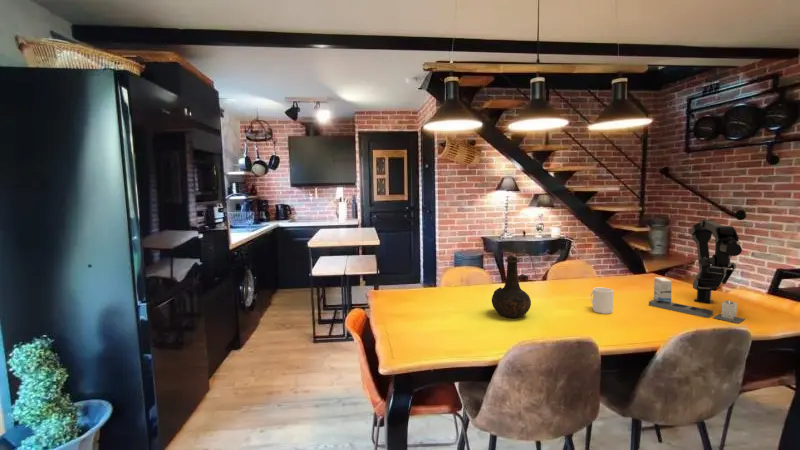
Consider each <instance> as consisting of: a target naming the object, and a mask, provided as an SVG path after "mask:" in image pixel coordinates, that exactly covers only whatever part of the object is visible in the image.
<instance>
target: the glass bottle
mask: <svg viewBox="0 0 800 450" xmlns="http://www.w3.org/2000/svg"><path fill="white" fill-rule="evenodd" d="M506 258H507V259H505V262H506V264H507V265H506V277H505V283H504V286H503V287H499V288H496V289H495V290H494V291H493V294H492V296H491V304H492V307H493V309H494V310H495V311H496V312H497V313H498V314H499V315H501V316H502V317H504V318H509V319H510V318H512V319H513V318H514V319H515V318H520V317H524V315H526V314H527V313H528V312H529V311H530V308H531V305H532V301H531V298H530V295H529V294H528V293H527V292H526V291H525V290H523V289H522V288H521V286H520V282H519V274H518V263H519V262H520V260H518V257H517V256H515V255H508V256H507V257H506Z"/></svg>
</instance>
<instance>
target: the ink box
mask: <svg viewBox="0 0 800 450" xmlns="http://www.w3.org/2000/svg"><path fill="white" fill-rule="evenodd" d="M653 282H654V283H653V284H654V285H653V288H654V289H653V300H654V299H657V300H662V301H667V302H672V285H673V284H672V283H673V281H672V280H670V279H668V278H666V277H657V276H656V277H654V279H653Z"/></svg>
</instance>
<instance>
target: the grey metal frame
mask: <svg viewBox="0 0 800 450" xmlns="http://www.w3.org/2000/svg"><path fill="white" fill-rule="evenodd" d="M648 306H650V307H653V308H659V309H662V310H663V309H664V310H668V311H673V312H679V313H682V314H687V315H692V316H696V317H701V318H706V319H708V318H710V317H712V316H714V310H711V309H707V308H701V307H697V306H691V305H686V304H681V303H677V302H672V301H671V302H667V301H662V300H657V299H654V298H653V299H651V300H649V301H648Z"/></svg>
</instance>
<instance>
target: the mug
mask: <svg viewBox="0 0 800 450" xmlns="http://www.w3.org/2000/svg"><path fill="white" fill-rule="evenodd" d="M590 302H591V304H592V311H593V312H595V313H597V314H603V315H607V314H612V313H613V309H614V289H611V288H608V287H601V286H600V287H599V286H598V287H593V288H592V291H591V292H590Z"/></svg>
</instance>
